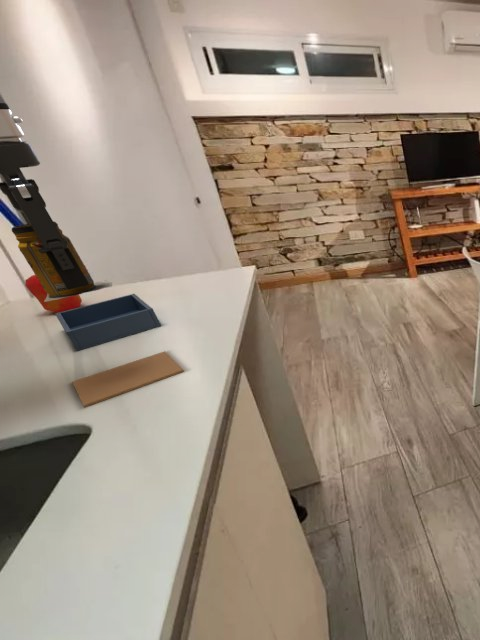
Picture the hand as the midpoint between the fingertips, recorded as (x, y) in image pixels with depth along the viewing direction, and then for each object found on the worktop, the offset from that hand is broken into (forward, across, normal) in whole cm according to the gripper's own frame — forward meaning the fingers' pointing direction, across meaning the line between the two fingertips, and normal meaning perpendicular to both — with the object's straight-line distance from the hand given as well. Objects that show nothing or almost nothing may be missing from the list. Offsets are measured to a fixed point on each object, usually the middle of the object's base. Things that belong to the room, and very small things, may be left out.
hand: (75, 283), depth 83 cm
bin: (+18, +34, -3) cm, 39 cm away
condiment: (+2, 0, 0) cm, 2 cm away
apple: (+18, +65, +2) cm, 68 cm away
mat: (+18, -3, 0) cm, 18 cm away
